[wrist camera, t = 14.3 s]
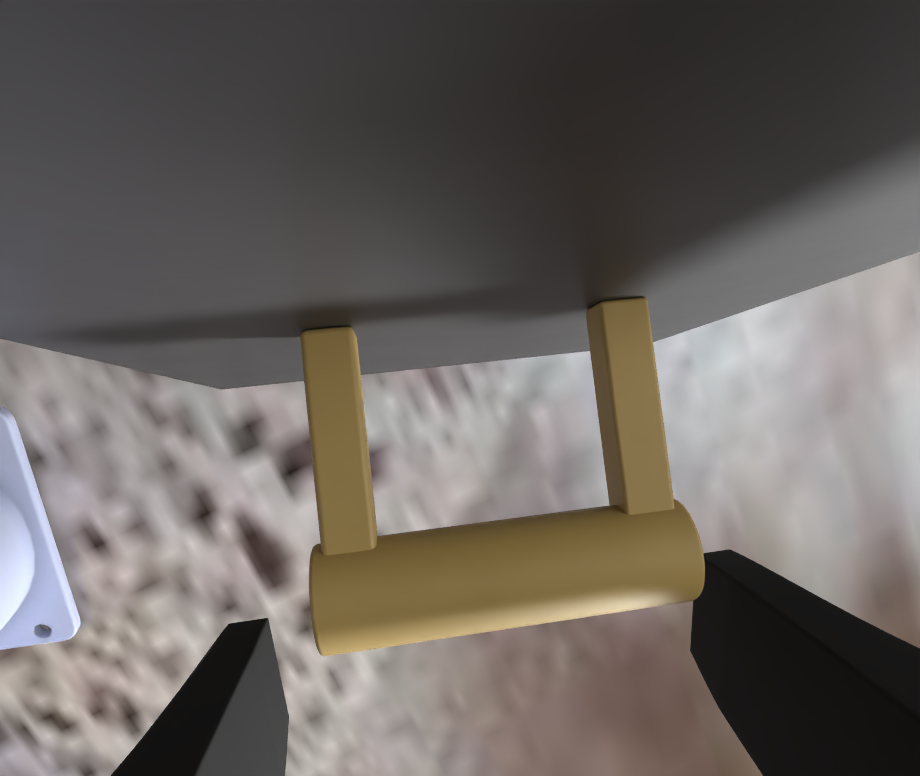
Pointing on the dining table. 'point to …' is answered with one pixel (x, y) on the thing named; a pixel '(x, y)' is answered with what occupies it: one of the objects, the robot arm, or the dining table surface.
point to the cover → (448, 232)
